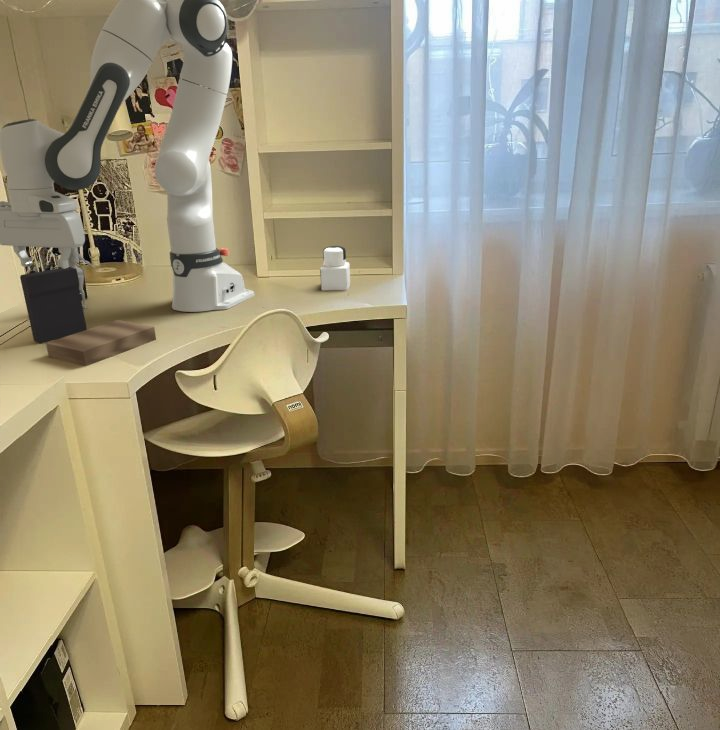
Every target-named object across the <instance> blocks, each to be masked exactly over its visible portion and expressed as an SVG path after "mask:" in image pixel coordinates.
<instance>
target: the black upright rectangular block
mask: <svg viewBox="0 0 720 730" xmlns="http://www.w3.org/2000/svg"><path fill="white" fill-rule="evenodd" d="M19 279H20V283H21V288H22V293H23V298H24V302H25V306H26V311H27V315H28V319H29V324H30V329H31V334H32V338H33V341H34V342H36V343H38V344H44V343H45V344H46V343H47V342H50V341H54V340H57V339H60V338H63V337H66V336H69V335H72V334H75V333H78V332H81V331H85V330H88V328H87V323H86V318H85V312H84V308H83V301H82V295H81V293H80V290H79V279H78V274H77V269H75V268H72V267H70V266H69V267H68V268H65V269H61V268H58V267H57V268H53V269H46V270H41V271H36V272H30V273H25V274H21V275H20V277H19Z"/></svg>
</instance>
